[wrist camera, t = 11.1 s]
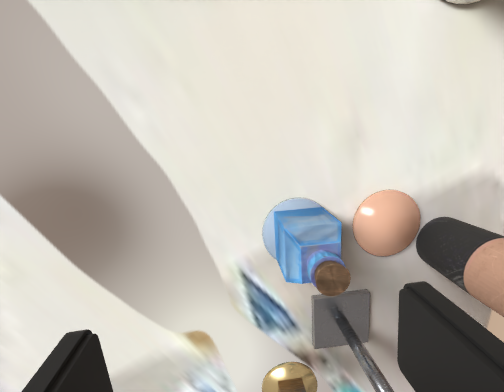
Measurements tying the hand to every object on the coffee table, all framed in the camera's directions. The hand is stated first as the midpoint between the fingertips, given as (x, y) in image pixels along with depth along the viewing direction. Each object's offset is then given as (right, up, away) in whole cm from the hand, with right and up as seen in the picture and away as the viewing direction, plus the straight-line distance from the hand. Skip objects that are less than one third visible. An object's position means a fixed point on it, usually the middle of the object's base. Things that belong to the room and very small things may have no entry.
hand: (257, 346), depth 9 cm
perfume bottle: (+6, 0, +29) cm, 29 cm away
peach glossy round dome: (+18, +1, +30) cm, 35 cm away
